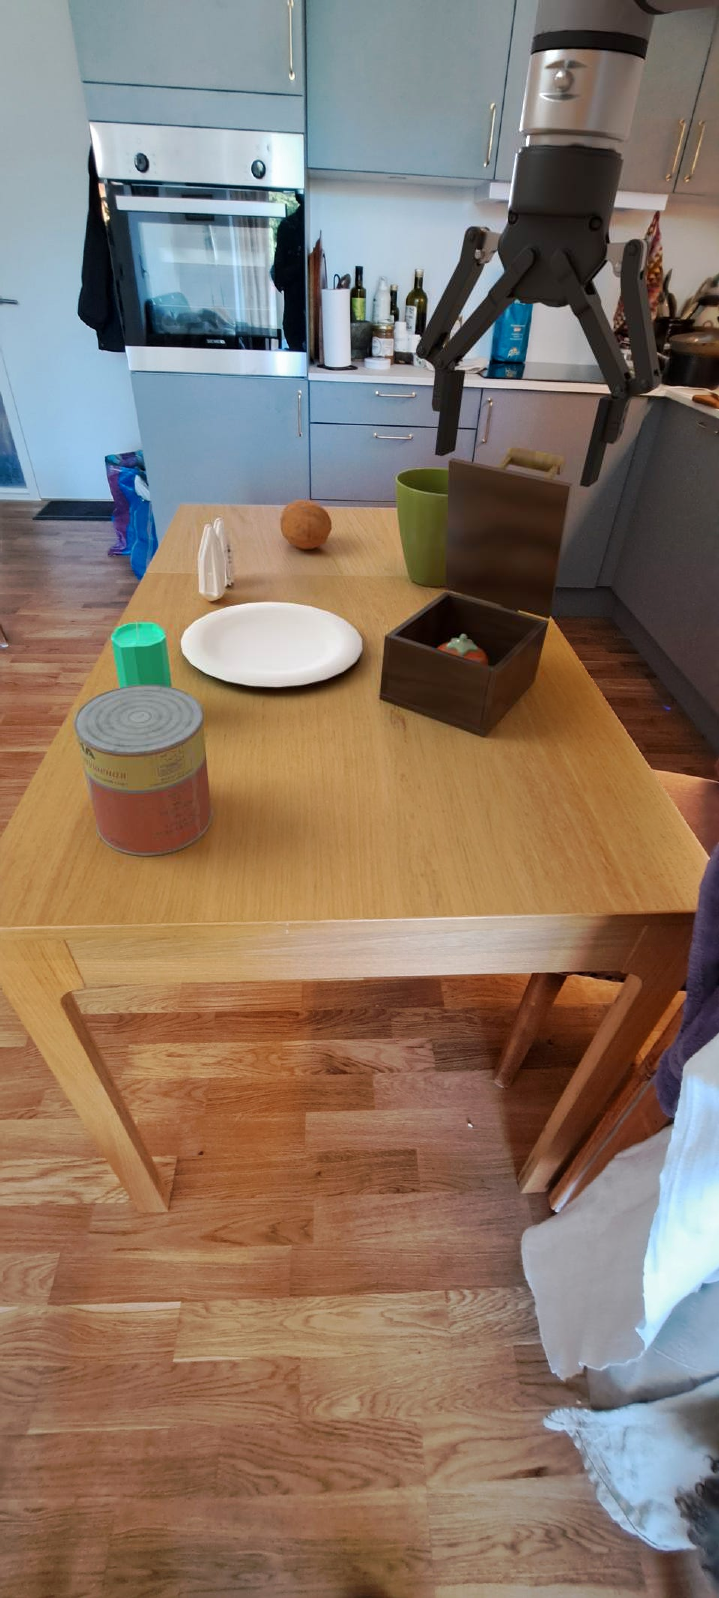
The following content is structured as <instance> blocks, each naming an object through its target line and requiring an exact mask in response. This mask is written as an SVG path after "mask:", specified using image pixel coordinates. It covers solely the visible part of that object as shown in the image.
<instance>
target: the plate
mask: <svg viewBox="0 0 719 1598" xmlns="http://www.w3.org/2000/svg"><path fill="white" fill-rule="evenodd" d="M180 646H181V652H182V655H183V657H184V658H185V659H186V660H187V662H188V663H189V664H190V665H191V666H192V667H193V668H195V669H197V671H200V672H201V673H203V674H204V675H206V676H208V677H211V678H214V679H216V680H219V681H222V682H224V683H227V684H232V685H238V686H243V687H248V688H257V689H259V688H261V689H286V688H299V687H305V686H309V685H313V684H318V683H321V682H325V681H327V680H329V679H332V678H334V677H336V676H340V675H341V674H343V673H345V672H346V671H347V670H349V669H350V668H351V667H353V665H355V664H356V663H357V661H358V660H359V658H360V656H361V655H362V653H363V638H362V637H361V635H360V633H359V631H358V629H357V628H355V627H354V626H353V625H352V624H350V623H349V622H348V621H347V619H346V620H345V619H344V618H342V617H340V616H338V615H336V614H334V613H332V612H330V611H328V610H324V609H321V608H317V607H314V606H310V605H305V604H299V603H294V602H293V603H292V602H279V601H262V602H260V601H259V602H248V603H242V604H236V605H231V606H226V607H223V608H219V609H217V610H214V611H211V612H209V613H207V614H205V615H203V616H202V617H200V618H198V619H196V620H195V621H193V623H191V624H190V625H189V626H188V627H187V628H186V629H185V630H184V632H183V634H182V637H181V639H180Z"/></svg>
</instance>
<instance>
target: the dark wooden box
mask: <svg viewBox="0 0 719 1598" xmlns="http://www.w3.org/2000/svg"><path fill="white" fill-rule="evenodd" d="M549 622H550V621H549V620H548V619H545V618H543V619H542V618H540V617H538V616H535V615H531V614H528V613H524V612H521V611H519V612H516V611H513V610H509V609H506V608H502V607H499V606H495V605H492V604H489V603H485V602H482V601H478V600H475V599H471V598H468V597H464V596H461V595H457V593H455V592H452V591H448V590H445V591H444V592H443V593H441V594H440V595H438V596H437V597H436V598H435V599H433V600H432V601H431V602H429V603H428V604H426V605H425V606H423V607H422V608H421V609H420V610H418V611H417V612H415V613H414V614H412V615H411V616H410V617H408V618H407V619H406V620H404V621H403V622H402V623H400V624H399V625H397V626H396V627H395V628H393V629H392V630H390V631H389V632H388V633H386V634H385V635H384V640H383V652H382V662H381V663H382V664H381V675H380V687H379V700H382V701H384V702H385V703H389V704H392V705H394V706H397V707H400V708H403V709H406V710H408V711H412V712H414V713H415V714H416V713H417V714H419V715H422V716H425V717H428V718H430V719H433V720H436V721H438V722H441V723H444V724H446V725H450V726H452V727H455V728H458V729H460V730H463V731H466V732H469V733H471V734H474V735H477V736H479V737H483V738H486V737H487V736H488V735H489V733H491V731H492V730H493V729H494V728H495V727H496V726H497V725H498V724H499V722H500V721H501V720H502V719H503V718H504V717H505V715H506V714H508V712H509V711H510V710H511V709H512V708H513V707H514V705H515V704H516V703H517V702H518V701H520V699H521V697H522V696H523V695H524V694H525V693H526V692H527V691H528V690H529V689H530V688H531V687H532V685H533V684H534V683H535V682H536V679H537V675H538V674H537V673H538V669H539V666H540V661H541V656H542V652H543V648H544V643H545V639H546V635H547V632H548V627H549ZM462 634H466V635H467V639H470V640H472V641H473V643H474V644H475V645H476V646H478V647H480V648H481V649H482V650H483V651H484V652H485V653H486V656H487V658H488V661H489V666H488V665H485V664H482V663H479V662H476V661H473V660H470V659H467V658H464V657H461V656H458V655H454V654H451V653H448V652H445V651H442V650H439V649H436V648H437V647H439V646H440V645H442V644H444V643H446V642H451V639H452V638H460V636H461V635H462Z"/></svg>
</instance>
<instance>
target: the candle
mask: <svg viewBox="0 0 719 1598" xmlns="http://www.w3.org/2000/svg"><path fill="white" fill-rule="evenodd" d="M134 621H135V622H127V623H125V624H122V625H120V626H118V627H116V628H115V630H114V631H113V632H112V634H111V636H110V641H111V646H112V652H113V659H114V663H115V669H116V675H117V680H118V688H121V687H127V686H134V685H161V686H167V687H172V688H173V685H172V676H171V668H170V660H169V654H168V653H169V651H168V644H167V643H168V642H167V636H166V632H165V629H164V628H162V627H161V626H160V625H158V624H157V623H156V622H150V621H149V622H147V621H146V622H145V621H142V622H141V621H140V622H138V621H136V620H134Z"/></svg>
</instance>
